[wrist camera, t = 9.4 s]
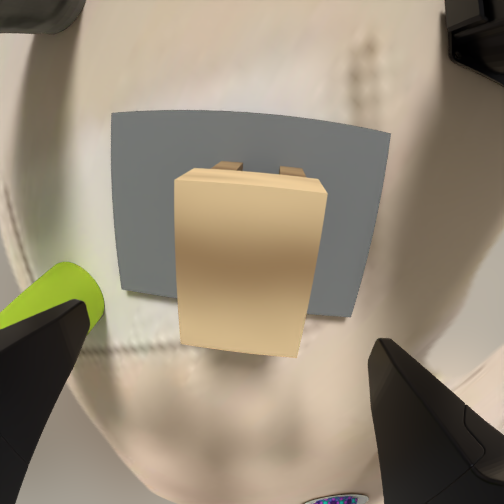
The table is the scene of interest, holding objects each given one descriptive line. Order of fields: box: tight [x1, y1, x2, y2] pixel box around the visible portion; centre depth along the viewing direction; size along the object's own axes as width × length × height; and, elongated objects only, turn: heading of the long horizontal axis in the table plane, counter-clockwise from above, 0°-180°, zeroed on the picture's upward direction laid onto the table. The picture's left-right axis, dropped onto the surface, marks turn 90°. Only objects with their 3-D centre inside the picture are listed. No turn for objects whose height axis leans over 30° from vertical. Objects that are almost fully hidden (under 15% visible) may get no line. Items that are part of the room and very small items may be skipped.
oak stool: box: [174, 161, 328, 358], centre depth 14 cm, size 7×5×7 cm
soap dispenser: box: [0, 262, 104, 335], centre depth 13 cm, size 6×7×20 cm
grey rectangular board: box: [111, 110, 391, 317], centre depth 18 cm, size 16×12×1 cm
